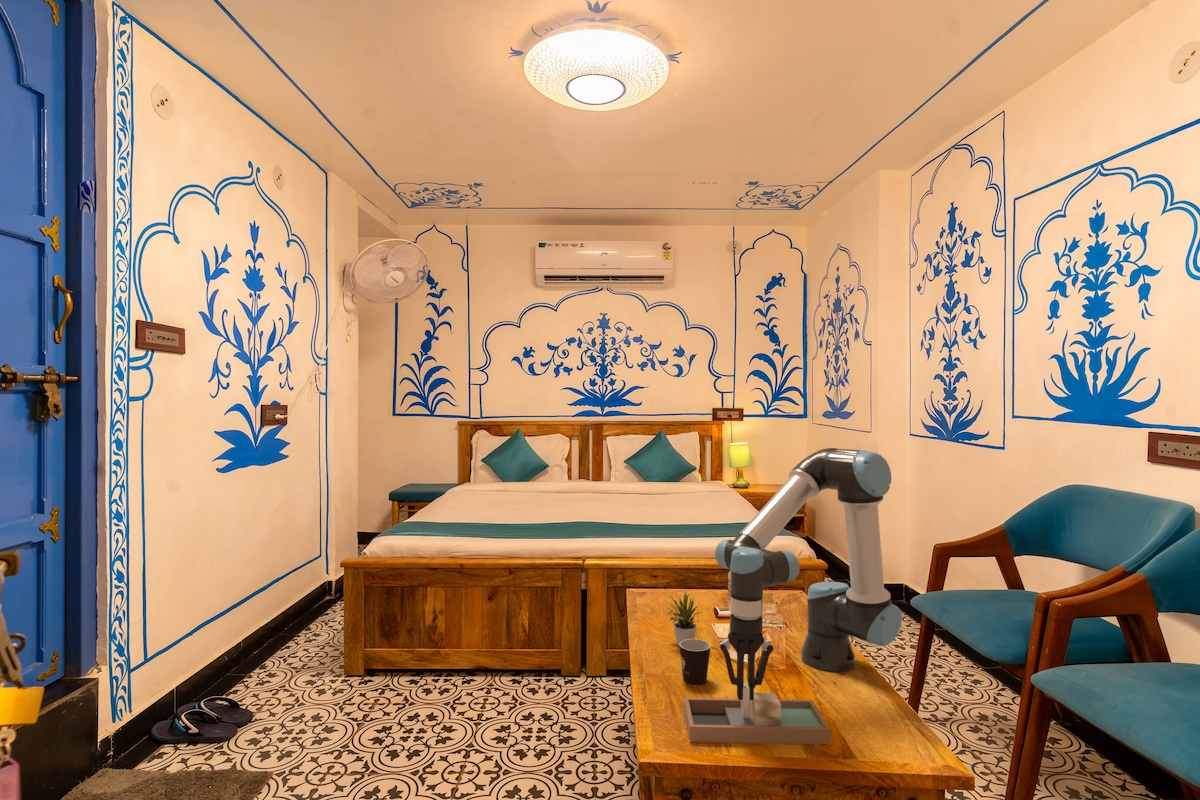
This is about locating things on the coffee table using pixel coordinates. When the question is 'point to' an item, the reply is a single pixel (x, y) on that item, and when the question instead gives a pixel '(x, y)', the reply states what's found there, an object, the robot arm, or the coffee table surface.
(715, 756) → the coffee table surface
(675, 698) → the coffee table surface
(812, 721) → the track
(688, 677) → the coffee mug
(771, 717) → the ash block
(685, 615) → the house plant
